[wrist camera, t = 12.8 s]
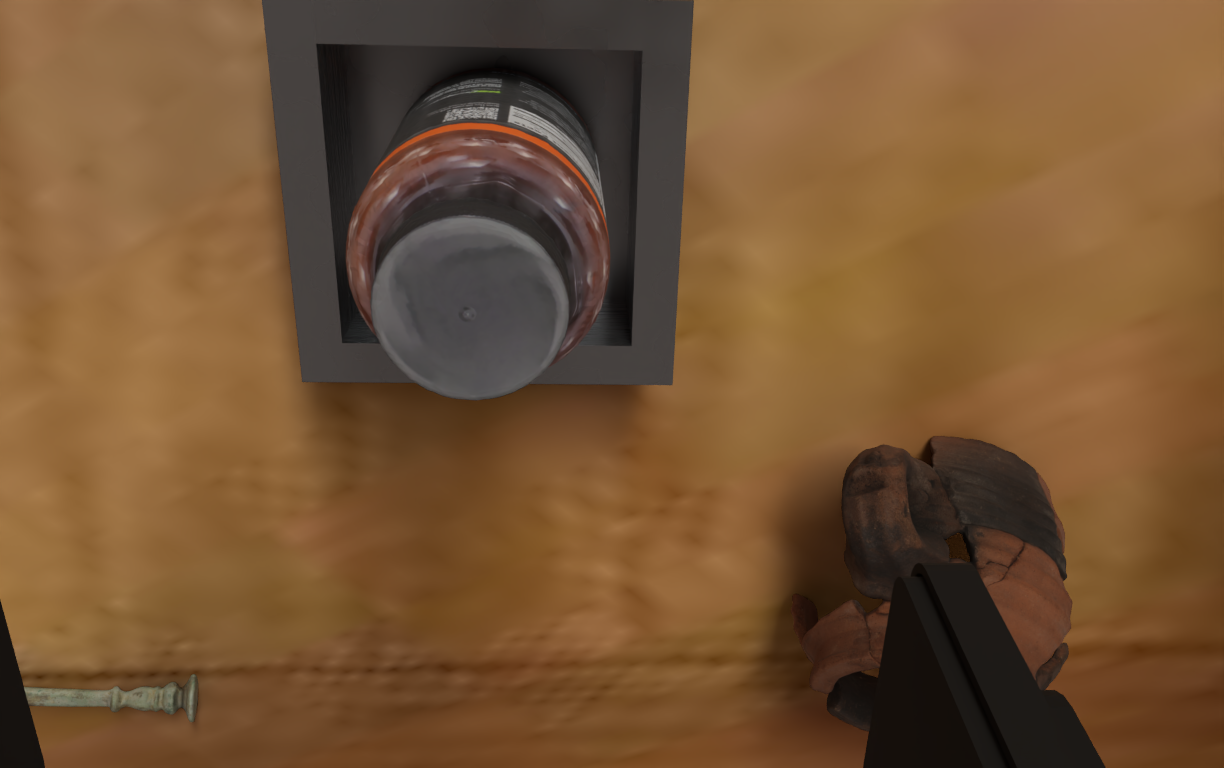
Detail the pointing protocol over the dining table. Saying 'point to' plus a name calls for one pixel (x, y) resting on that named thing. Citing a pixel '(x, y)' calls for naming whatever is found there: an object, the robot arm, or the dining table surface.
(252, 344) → the dining table surface
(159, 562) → the dining table surface
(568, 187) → the supplement bottle
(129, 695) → the soupspoon
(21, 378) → the dining table surface
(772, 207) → the dining table surface
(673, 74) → the can holder
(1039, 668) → the pottery mug
